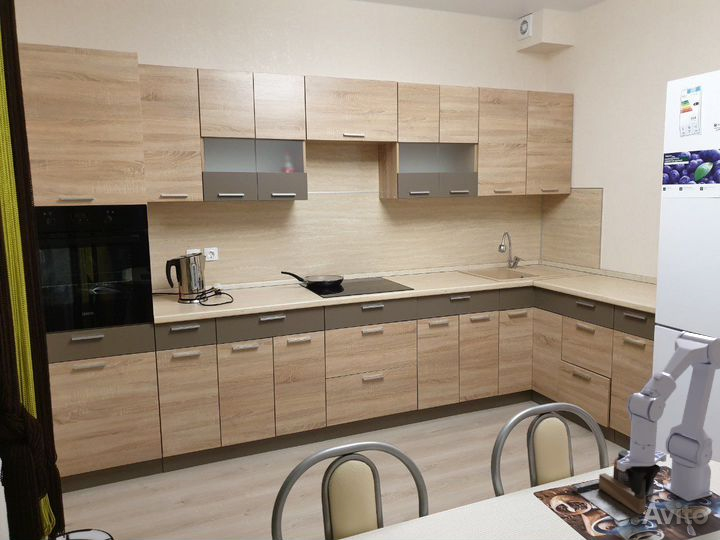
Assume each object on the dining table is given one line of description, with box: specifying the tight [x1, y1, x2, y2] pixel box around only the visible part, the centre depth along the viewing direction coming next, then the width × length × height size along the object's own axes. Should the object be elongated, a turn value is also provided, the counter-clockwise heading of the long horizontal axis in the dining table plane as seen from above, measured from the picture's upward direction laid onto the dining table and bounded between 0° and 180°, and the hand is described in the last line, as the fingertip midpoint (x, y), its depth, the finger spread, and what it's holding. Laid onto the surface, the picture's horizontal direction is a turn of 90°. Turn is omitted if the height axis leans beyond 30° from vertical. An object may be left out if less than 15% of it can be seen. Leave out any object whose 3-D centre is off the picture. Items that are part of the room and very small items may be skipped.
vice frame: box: [572, 475, 655, 522], centre depth 146 cm, size 18×16×4 cm
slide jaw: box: [598, 472, 646, 514], centre depth 144 cm, size 2×14×9 cm, turn 20°
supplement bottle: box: [612, 449, 631, 489], centre depth 149 cm, size 6×6×11 cm
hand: (639, 491), depth 139 cm, fingers closed on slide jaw, 2 cm apart
